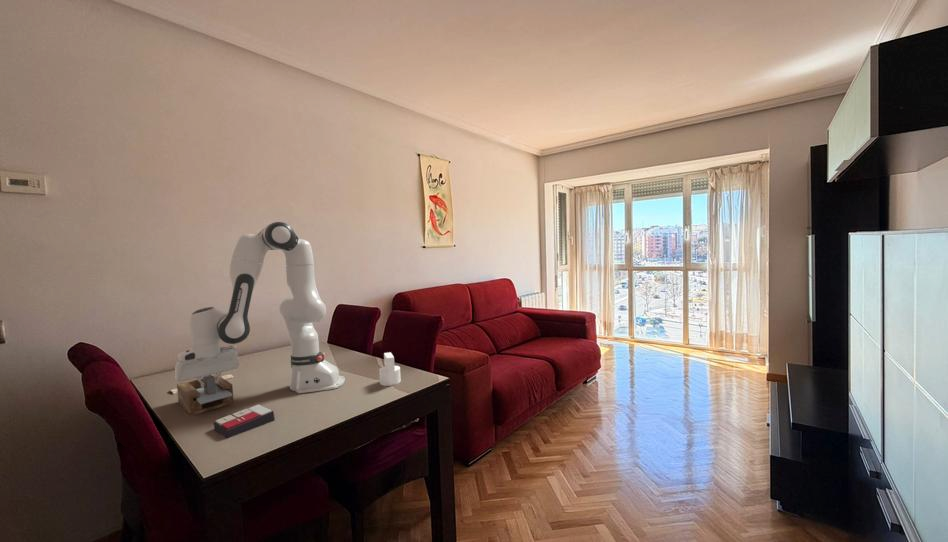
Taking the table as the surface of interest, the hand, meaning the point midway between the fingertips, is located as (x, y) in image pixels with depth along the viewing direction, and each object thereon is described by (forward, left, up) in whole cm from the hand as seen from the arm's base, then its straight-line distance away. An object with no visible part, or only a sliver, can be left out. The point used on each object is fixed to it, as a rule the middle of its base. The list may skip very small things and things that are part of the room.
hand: (209, 385), depth 148 cm
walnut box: (+5, -5, -9) cm, 11 cm away
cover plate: (0, 0, -4) cm, 4 cm away
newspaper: (+21, -29, -9) cm, 37 cm away
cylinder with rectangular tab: (-66, -16, -9) cm, 68 cm away
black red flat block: (-21, +18, -9) cm, 29 cm away
